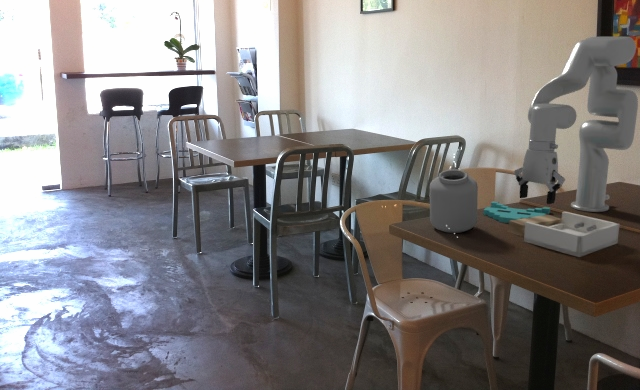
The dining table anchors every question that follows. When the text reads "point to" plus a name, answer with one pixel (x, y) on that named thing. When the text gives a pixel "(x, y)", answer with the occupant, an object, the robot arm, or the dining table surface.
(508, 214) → the alien figure
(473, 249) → the dining table surface
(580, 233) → the carcass
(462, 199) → the jar
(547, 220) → the shelf board
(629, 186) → the dining table surface
